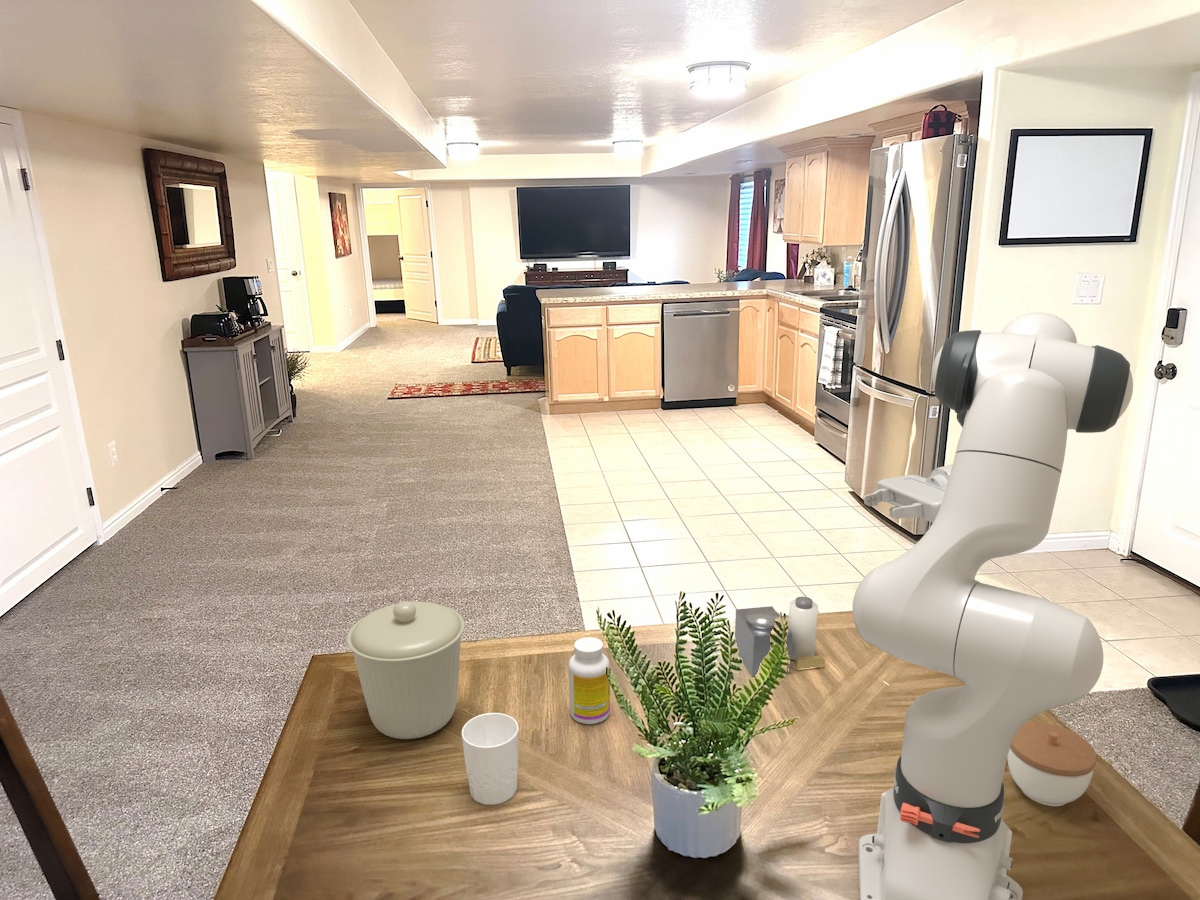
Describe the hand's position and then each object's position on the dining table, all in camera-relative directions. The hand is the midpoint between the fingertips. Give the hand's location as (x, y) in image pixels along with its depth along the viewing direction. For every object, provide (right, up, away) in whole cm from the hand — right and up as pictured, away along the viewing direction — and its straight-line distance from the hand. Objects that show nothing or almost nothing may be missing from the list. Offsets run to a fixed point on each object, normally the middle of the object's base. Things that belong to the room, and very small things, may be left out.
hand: (878, 507), depth 139 cm
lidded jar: (+14, -38, -26) cm, 49 cm away
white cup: (-64, -39, -24) cm, 78 cm away
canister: (-79, -34, -8) cm, 86 cm away
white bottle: (-11, -28, +8) cm, 31 cm away
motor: (-16, -28, +9) cm, 33 cm away
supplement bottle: (-50, -34, -8) cm, 61 cm away
